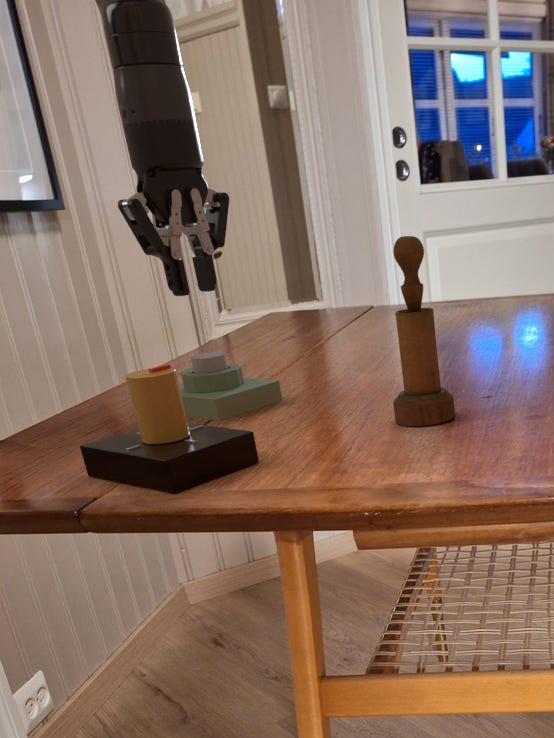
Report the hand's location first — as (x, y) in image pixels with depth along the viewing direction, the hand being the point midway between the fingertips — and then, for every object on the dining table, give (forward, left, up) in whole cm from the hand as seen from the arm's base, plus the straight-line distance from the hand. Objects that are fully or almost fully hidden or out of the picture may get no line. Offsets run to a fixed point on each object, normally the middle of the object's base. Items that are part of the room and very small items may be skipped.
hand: (194, 292), depth 100 cm
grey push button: (0, 0, -9) cm, 9 cm away
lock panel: (+17, -20, -13) cm, 29 cm away
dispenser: (0, 0, -13) cm, 13 cm away
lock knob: (+17, -20, -10) cm, 28 cm away
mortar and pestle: (+29, +4, -13) cm, 32 cm away
